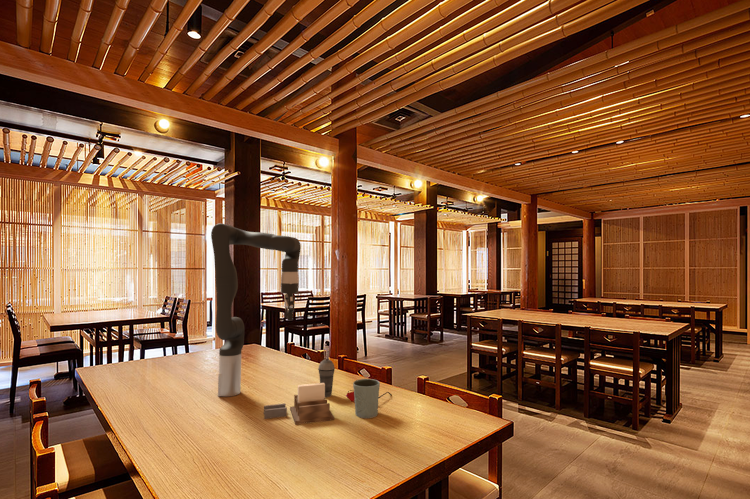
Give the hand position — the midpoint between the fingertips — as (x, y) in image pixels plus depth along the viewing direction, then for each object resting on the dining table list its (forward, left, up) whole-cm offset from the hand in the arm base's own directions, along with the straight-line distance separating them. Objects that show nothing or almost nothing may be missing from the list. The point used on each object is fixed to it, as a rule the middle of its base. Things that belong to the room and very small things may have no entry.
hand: (289, 319), depth 170 cm
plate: (+6, -24, -32) cm, 40 cm away
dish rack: (+6, -24, -33) cm, 41 cm away
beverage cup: (+16, -4, -33) cm, 37 cm away
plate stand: (-7, -20, -33) cm, 39 cm away
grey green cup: (+26, -30, -33) cm, 52 cm away
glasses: (+33, -12, -34) cm, 49 cm away
